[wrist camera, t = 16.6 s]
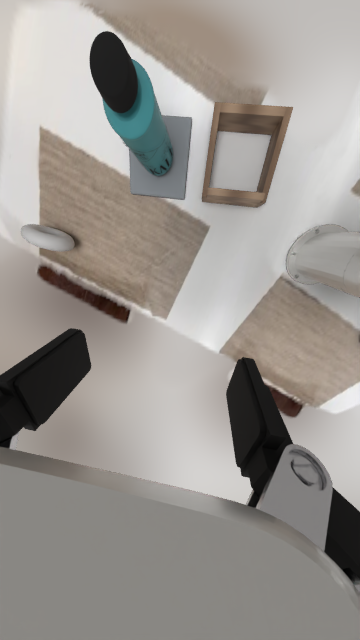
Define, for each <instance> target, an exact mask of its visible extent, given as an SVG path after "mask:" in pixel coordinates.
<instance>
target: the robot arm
mask: <svg viewBox="0 0 360 640" xmlns="http://www.w3.org/2000/svg"><path fill="white" fill-rule="evenodd" d="M292 252H293V254H292ZM286 267H287V271H288V274H289V275H290V276H291V278H293V279H294V280H295V281H297V282H300V283H303V284H316V283H322V284H325V285H327V286H330V287H333V288H335V289H338V290H341V291H343V292H346V293H348V294H351V295H354V296H357V297H359V298H360V232H348V231H347V230H346V229H345V228H343V227H341V226H338V225H322V226H318V227H315V228H313V229H311V230H309V231H307V232H306V233H304V234H303V235H302V236H300V237H299V238H298V239H297V240H296V242H295V243H294V244H293V245H292V247H291V249H290V251H289V253H288V256H287V260H286ZM295 275H296V276H295ZM90 369H91V362H90V357H89V353H88V348H87V343H86V338H85V334H84V333H83V332H82V331H81V330H78V329H68V330H67V331H65V332H64V333H62V334H61V335H59V336H58V337H56V338H55V339H54V340H52V341H51V342H49V343H48V344H46V345H45V346H43V347H42V348H40V349H39V350H37V351H36V352H34V353H33V354H31V355H30V356H28V357H27V358H25V359H24V360H22V361H21V362H19V363H18V364H16V365H15V366H13V367H12V368H10V369H9V370H8V371H6V372H5V373H3V374H2V375H0V640H360V512H359V511H358V510H357V509H356V508H355V507H354V506H353V505H352V504H350V503H349V502H348V501H347V500H346V499H345V498H344V497H343V496H342V495H341V494H340V493H338V492H337V491H336V490H335V489H334V488H333V487H332V481H331V478H330V476H329V473H328V472H327V470H326V468H325V467H324V465H323V464H322V463H321V462H320V460H319V459H318V458H317V457H316V456H315V455H314V454H312V453H311V452H310V451H309V450H307V449H306V448H304V447H301V446H299V445H295V444H293V442H292V440H291V438H290V435H289V433H288V431H287V428H286V426H285V424H284V422H283V419H282V417H281V415H280V412H279V410H278V408H277V406H276V403H275V401H274V399H273V396H272V394H271V392H270V390H269V388H268V387H267V386H266V385H264V382H263V380H262V378H261V375H260V373H259V370H258V368H257V366H256V363H255V361H254V359H250V358H244V357H242V359H239V360H238V361H237V364H236V367H235V370H234V372H233V375H232V378H231V380H230V383H229V386H228V389H227V393H226V396H227V404H228V410H229V417H230V424H231V431H232V437H233V445H234V452H235V458H236V464H237V466H238V467H240V468H241V475H242V476H244V477H249V478H250V482H251V487H252V488H253V490H252V492H251V494H250V497H249V499H248V501H247V503H246V505H244V504H241V503H238V502H234V501H231V500H227V499H223V498H219V497H215V496H211V495H207V494H203V493H199V492H196V491H192V490H188V489H183V488H179V487H174V486H170V485H166V484H161V483H158V482H153V481H149V480H145V479H141V478H136V477H132V476H127V475H123V474H119V473H115V472H110V471H106V470H101V469H97V468H92V467H88V466H84V465H79V464H75V463H71V462H66V461H62V460H58V459H53V458H49V457H44V456H40V455H35V454H31V453H26V452H22V451H17V450H16V444H17V440H18V434H19V431H20V430H21V429H22V428H23V427H24V428H25V429H28V430H33V431H36V429H37V428H38V427H39V426H40V425H41V424H43V423H45V422H46V421H47V420H48V418H49V417H50V416H51V415H52V414H53V413H54V411H55V410H56V409H57V408H58V407H59V406H60V405H61V403H62V402H63V401H64V400H65V399H66V398H67V396H68V395H69V394H70V393H71V392H72V391H73V389H74V388H75V387H76V386H77V385H78V384H79V382H80V381H81V380H82V379H83V378H84V377H85V375H86V374H87V373H88V372H89V371H90Z"/></svg>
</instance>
